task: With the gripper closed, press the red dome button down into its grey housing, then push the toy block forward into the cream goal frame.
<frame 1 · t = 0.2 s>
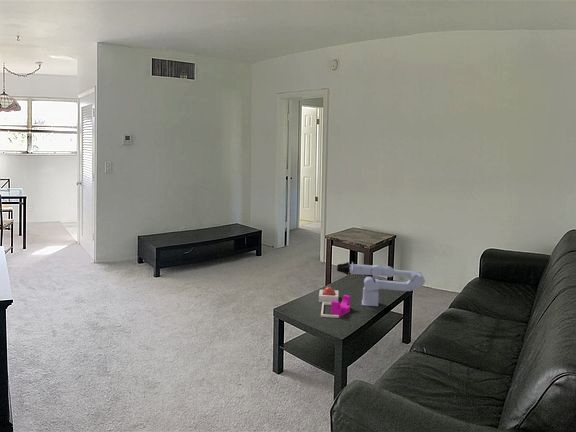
hand: (337, 267, 280), 21 cm above the table, tool horizontal, fingers open, 7 cm apart
toy block: (342, 312, 269), on the table
goal frame: (331, 310, 270), on the table
dome: (328, 291, 288), point 5 cm above the table, slide at 0.0 cm
dome housing: (328, 299, 288), on the table
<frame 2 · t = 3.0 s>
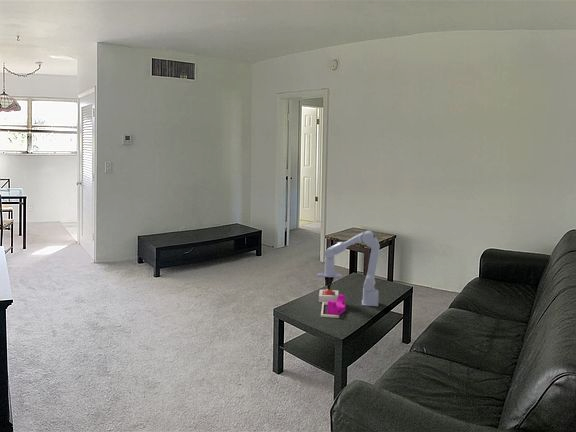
hand: (328, 288, 287), 7 cm above the table, tool pointing down, fingers closed, pressing on dome
toy block: (338, 311, 270), on the table
dome: (328, 293, 288), point 4 cm above the table, slide at 1.1 cm, touching gripper
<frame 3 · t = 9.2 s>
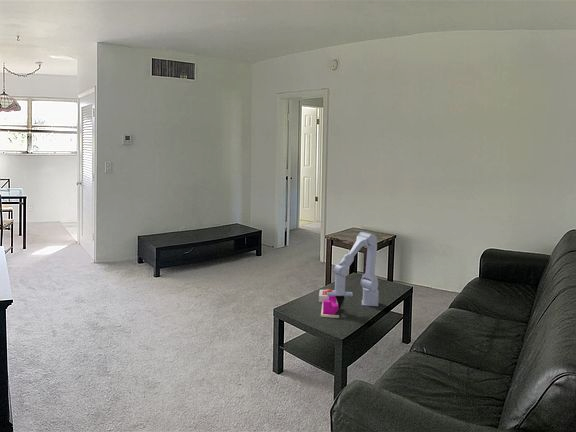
hand: (339, 308, 269), 2 cm above the table, tool pointing down, fingers closed
toy block: (331, 310, 271), on the table, touching goal frame, gripper
dome: (328, 293, 288), point 4 cm above the table, slide at 1.3 cm
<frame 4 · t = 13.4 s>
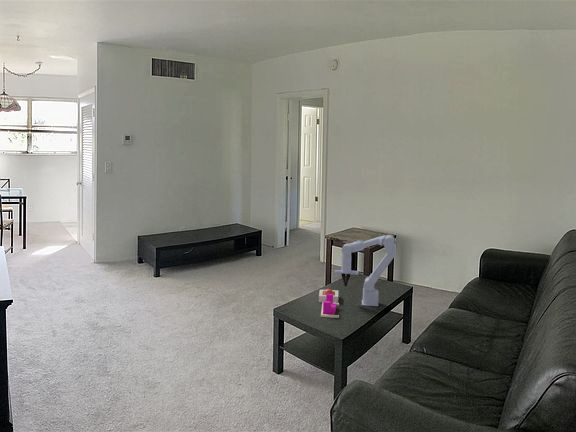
hand: (345, 285, 284), 10 cm above the table, tool pointing down, fingers closed
toy block: (330, 311, 270), on the table
everything else where it was.
at the end: dome slide at 1.3 cm; toy block 0.7 cm from the target spot, on the table; toy block tilted 0° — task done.
